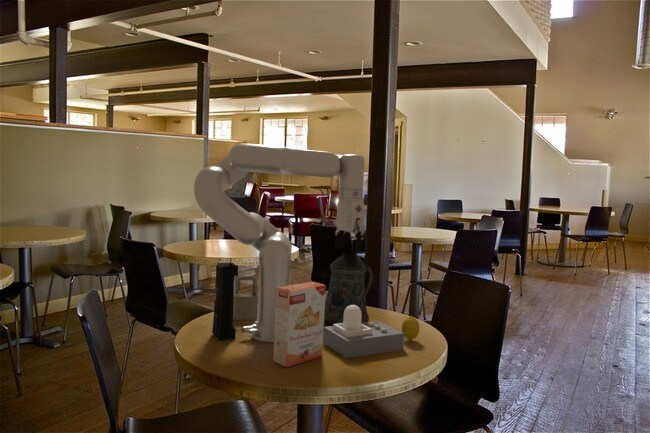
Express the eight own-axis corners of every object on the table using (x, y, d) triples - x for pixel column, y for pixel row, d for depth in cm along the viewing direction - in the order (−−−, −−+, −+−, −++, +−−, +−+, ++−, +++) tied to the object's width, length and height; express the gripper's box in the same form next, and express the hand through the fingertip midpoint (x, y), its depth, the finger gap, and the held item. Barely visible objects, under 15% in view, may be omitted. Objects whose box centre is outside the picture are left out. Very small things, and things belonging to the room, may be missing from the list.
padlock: (232, 317, 184) (233, 275, 183) (255, 316, 187) (256, 274, 185) (234, 320, 180) (235, 277, 179) (258, 319, 183) (259, 276, 182)
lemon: (420, 339, 168) (422, 315, 167) (416, 344, 163) (417, 319, 162) (403, 336, 170) (405, 312, 170) (398, 341, 165) (400, 316, 165)
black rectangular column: (210, 333, 166) (212, 254, 163) (229, 331, 168) (232, 254, 166) (216, 340, 158) (218, 258, 156) (235, 339, 161) (238, 258, 159)
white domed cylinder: (342, 328, 160) (344, 302, 159) (360, 329, 160) (361, 303, 159) (342, 333, 155) (344, 306, 154) (361, 334, 154) (362, 307, 154)
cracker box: (287, 369, 139) (290, 290, 137) (272, 362, 143) (275, 286, 141) (323, 356, 149) (327, 284, 147) (308, 351, 153) (311, 280, 151)
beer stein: (313, 328, 175) (316, 254, 173) (331, 314, 194) (334, 246, 192) (361, 335, 170) (365, 258, 168) (375, 319, 189) (378, 250, 186)
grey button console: (346, 358, 148) (347, 335, 148) (322, 342, 161) (323, 322, 160) (403, 349, 158) (404, 328, 157) (377, 335, 170) (378, 316, 170)
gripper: (376, 196, 156) (373, 254, 157) (346, 193, 171) (344, 245, 172) (355, 196, 152) (352, 255, 154) (326, 193, 167) (324, 246, 169)
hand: (348, 250), depth 163 cm, fingers open, 9 cm apart
